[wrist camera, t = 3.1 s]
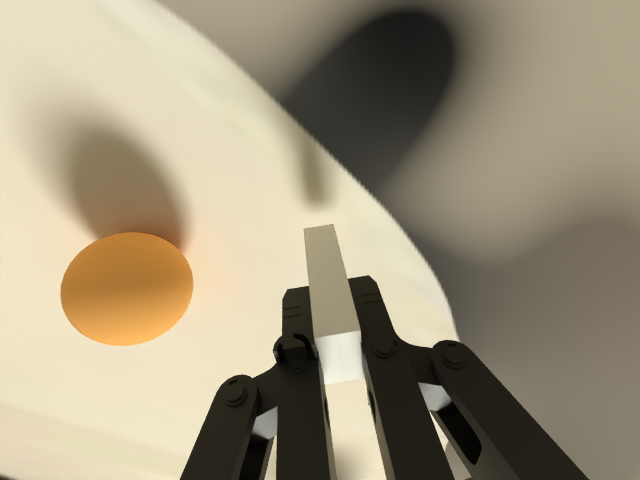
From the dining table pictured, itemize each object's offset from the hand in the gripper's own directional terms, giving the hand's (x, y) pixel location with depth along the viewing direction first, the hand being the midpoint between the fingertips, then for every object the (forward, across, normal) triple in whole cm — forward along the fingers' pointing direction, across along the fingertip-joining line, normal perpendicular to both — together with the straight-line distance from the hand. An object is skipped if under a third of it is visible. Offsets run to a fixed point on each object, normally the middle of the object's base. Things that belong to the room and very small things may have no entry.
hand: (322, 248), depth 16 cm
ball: (-1, -10, 0) cm, 10 cm away
